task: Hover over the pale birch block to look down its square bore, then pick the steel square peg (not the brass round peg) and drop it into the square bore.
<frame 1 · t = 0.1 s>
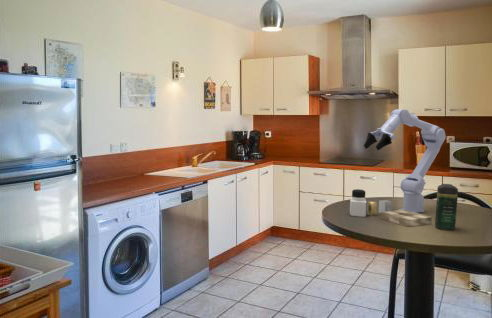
hand: (370, 147, 202), 32 cm above the table, tool tilted 50°, fingers open, 7 cm apart
steel square peg: (384, 213, 213), on the table
bore block: (405, 221, 197), on the table
medicine bottle: (357, 215, 208), on the table
brass round peg: (372, 214, 209), on the table
coffee jar: (444, 228, 187), on the table
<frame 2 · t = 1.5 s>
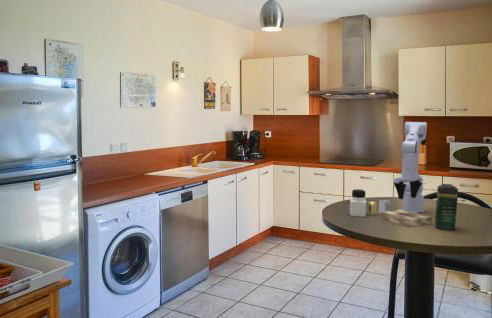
hand: (407, 198, 196), 10 cm above the table, tool pointing down, fingers open, 7 cm apart
nothing on the table moved.
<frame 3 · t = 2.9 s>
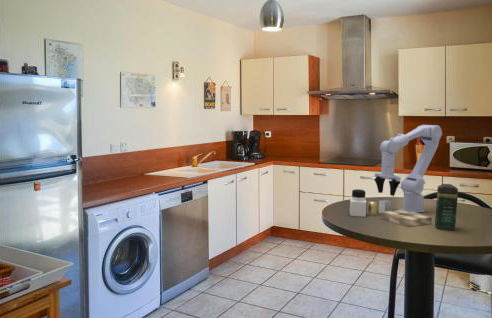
hand: (386, 194, 211), 9 cm above the table, tool pointing down, fingers open, 7 cm apart
nothing on the table moved.
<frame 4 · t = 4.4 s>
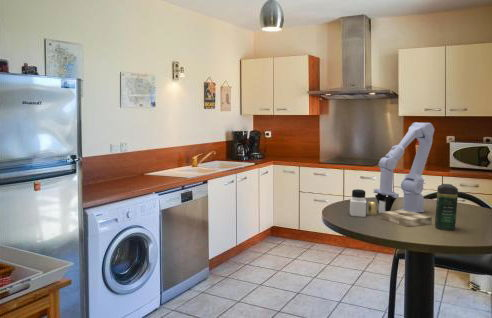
hand: (384, 210, 213), 1 cm above the table, tool pointing down, fingers closed on steel square peg, 4 cm apart
steel square peg: (384, 213, 213), on the table, touching gripper
everything else where it was.
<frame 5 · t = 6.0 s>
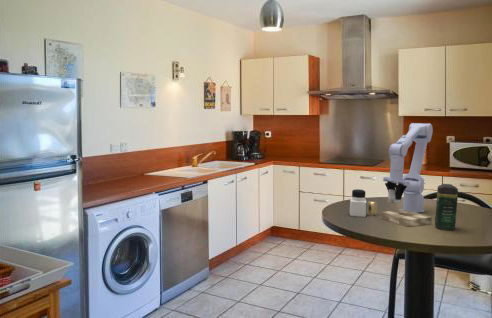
hand: (395, 198, 205), 8 cm above the table, tool pointing down, fingers closed on steel square peg, 4 cm apart
steel square peg: (394, 202, 205), point 7 cm above the table, touching gripper
everything else where it was.
when the fingers open (4 cm above the table, at t = 8.0 s): steel square peg drops 2 cm, resting in bore block.
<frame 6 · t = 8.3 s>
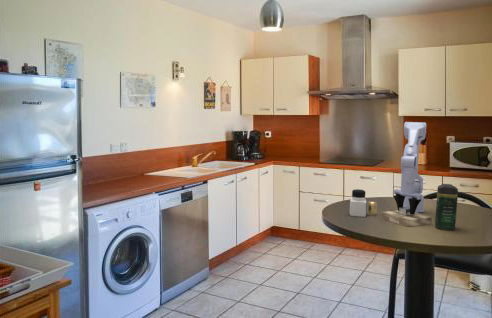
hand: (406, 212, 197), 4 cm above the table, tool pointing down, fingers open, 6 cm apart
steel square peg: (405, 221, 197), resting in bore block
everything else where it was.
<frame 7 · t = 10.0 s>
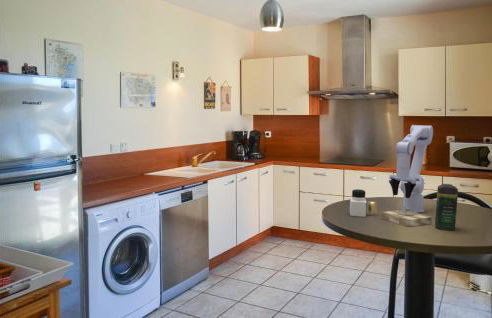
hand: (401, 196, 206), 9 cm above the table, tool pointing down, fingers open, 7 cm apart
nothing on the table moved.
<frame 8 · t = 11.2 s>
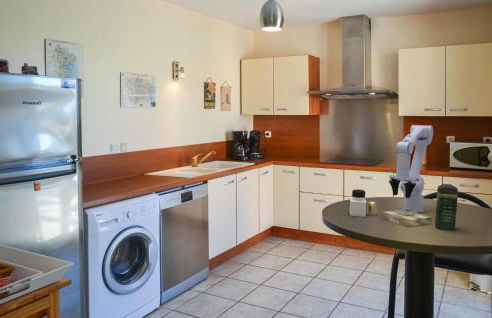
hand: (401, 196, 206), 9 cm above the table, tool pointing down, fingers open, 7 cm apart
nothing on the table moved.
at the end: steel square peg 0.3 cm off-centre on the bore block, point 0.0 cm above the bore block's base; the gripper is holding nothing; brass round peg moved 0.0 cm from its start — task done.
